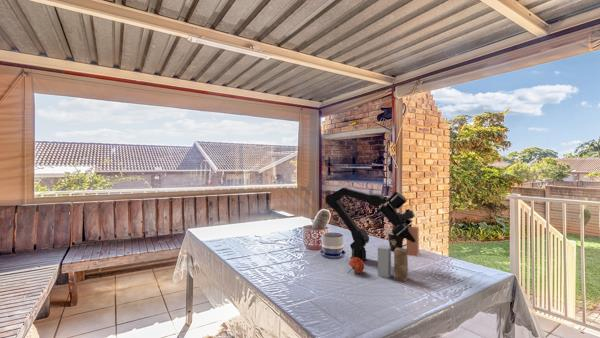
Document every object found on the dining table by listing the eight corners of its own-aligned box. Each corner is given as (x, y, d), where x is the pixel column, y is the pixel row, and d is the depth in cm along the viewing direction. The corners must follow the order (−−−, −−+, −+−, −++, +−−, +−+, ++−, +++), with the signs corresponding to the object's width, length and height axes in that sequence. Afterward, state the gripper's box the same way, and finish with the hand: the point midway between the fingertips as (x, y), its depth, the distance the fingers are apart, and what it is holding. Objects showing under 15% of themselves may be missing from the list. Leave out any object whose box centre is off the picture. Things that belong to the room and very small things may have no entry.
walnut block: (394, 279, 119) (394, 250, 119) (397, 275, 123) (396, 247, 123) (405, 281, 117) (405, 251, 117) (407, 277, 121) (407, 249, 121)
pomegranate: (353, 281, 123) (371, 267, 123) (342, 267, 124) (360, 253, 124) (351, 276, 130) (368, 263, 130) (341, 263, 131) (358, 250, 131)
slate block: (378, 276, 123) (377, 247, 123) (381, 272, 127) (380, 245, 127) (388, 278, 121) (388, 249, 121) (391, 274, 124) (390, 246, 124)
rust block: (406, 254, 131) (406, 228, 131) (408, 252, 134) (408, 226, 134) (417, 256, 128) (416, 229, 128) (418, 253, 132) (418, 227, 132)
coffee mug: (385, 249, 163) (384, 232, 163) (396, 247, 167) (396, 231, 167) (399, 255, 152) (399, 236, 153) (411, 252, 156) (411, 235, 156)
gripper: (399, 206, 126) (425, 233, 120) (407, 202, 141) (431, 226, 135) (381, 222, 130) (406, 249, 124) (391, 216, 146) (414, 240, 140)
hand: (415, 240), depth 131 cm, fingers closed on rust block, 4 cm apart
